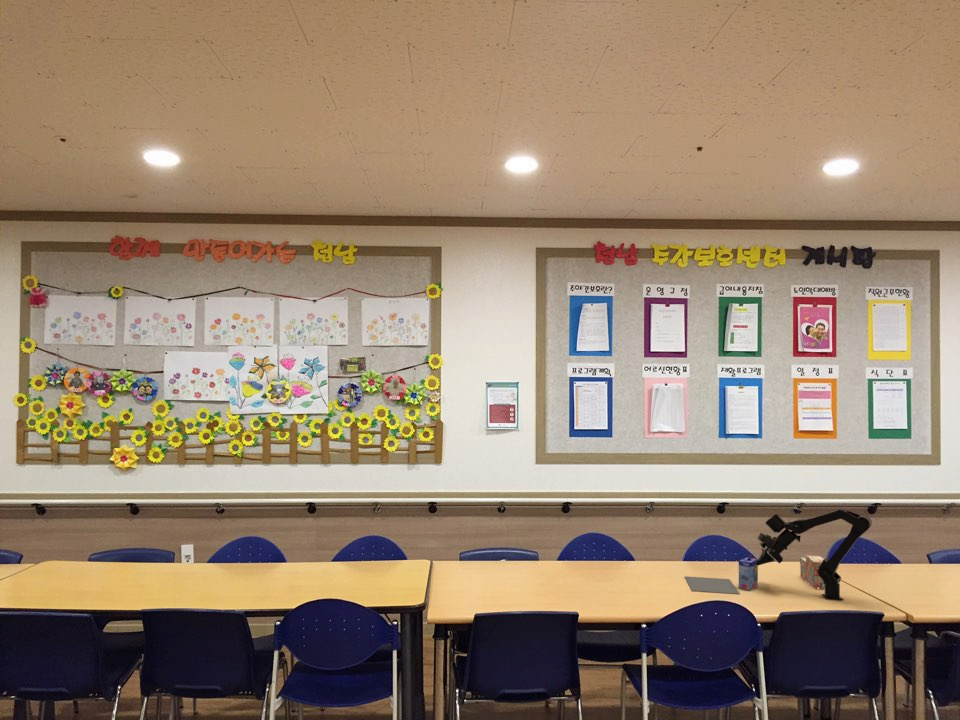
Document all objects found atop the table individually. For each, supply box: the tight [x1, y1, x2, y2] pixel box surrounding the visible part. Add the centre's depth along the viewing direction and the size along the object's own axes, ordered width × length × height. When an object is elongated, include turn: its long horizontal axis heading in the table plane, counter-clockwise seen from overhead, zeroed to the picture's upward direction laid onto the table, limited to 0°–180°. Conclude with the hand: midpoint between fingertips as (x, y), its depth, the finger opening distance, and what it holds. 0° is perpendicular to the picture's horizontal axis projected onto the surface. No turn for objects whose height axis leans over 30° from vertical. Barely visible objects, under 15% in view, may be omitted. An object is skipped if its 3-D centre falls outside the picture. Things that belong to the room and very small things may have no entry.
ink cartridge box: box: [738, 553, 759, 591], centre depth 297 cm, size 10×6×14 cm, turn 138°
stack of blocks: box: [799, 555, 825, 590], centre depth 307 cm, size 21×6×12 cm, turn 170°
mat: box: [684, 575, 741, 595], centre depth 300 cm, size 24×20×1 cm
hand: (756, 564), depth 297 cm, fingers closed
